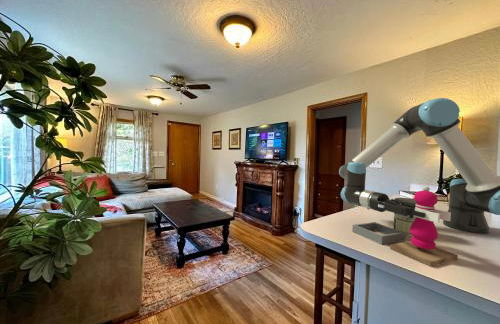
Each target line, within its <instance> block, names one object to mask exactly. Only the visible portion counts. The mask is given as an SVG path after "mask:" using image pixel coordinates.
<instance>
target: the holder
mask: <svg viewBox="0 0 500 324" xmlns="http://www.w3.org/2000/svg"><path fill="white" fill-rule="evenodd" d="M374 230H375V231H377V232H380V233H383V234H379V233H377V232H374ZM351 231H352V233H355V234H357V235H359V236H361V237H364V238H366V239H368V240H370V241H373V242H375V243H377V244H379V245H385V244H386V245H388V244H394V243H397V242H398V243H399V242H405V240H406V235H405V232H402V231H399V230H396V229H393V227H390V226H387V225H384V224H381V223H378V222H375V221H374V222H373V221H372V222H364V223H357V224H356V223H355V224H352V230H351Z"/></svg>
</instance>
